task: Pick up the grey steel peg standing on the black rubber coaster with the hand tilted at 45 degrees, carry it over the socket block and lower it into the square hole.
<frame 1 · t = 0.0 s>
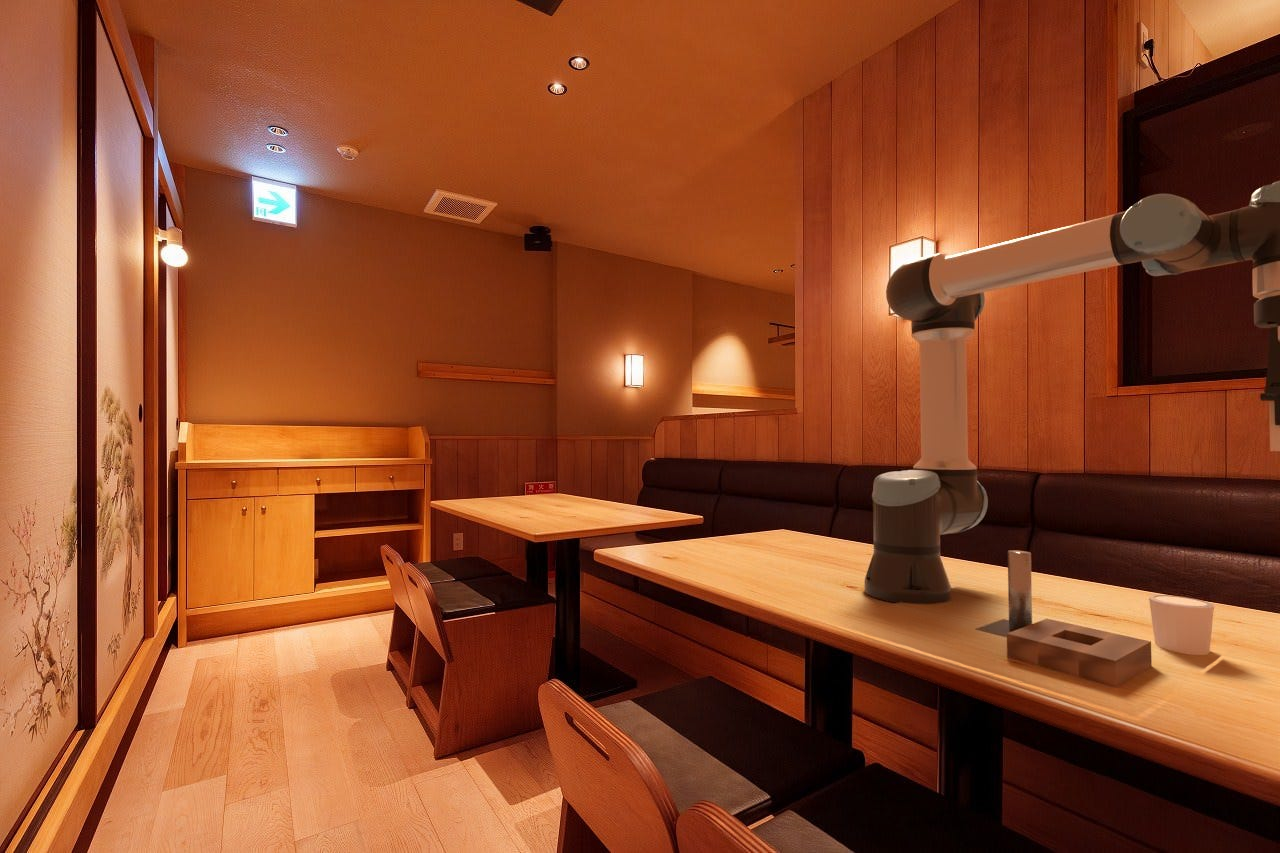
peg: (1020, 631, 91), resting on coaster
white cup: (1181, 651, 84), on the table
socket block: (1077, 664, 79), on the table
coaster: (1020, 634, 91), on the table
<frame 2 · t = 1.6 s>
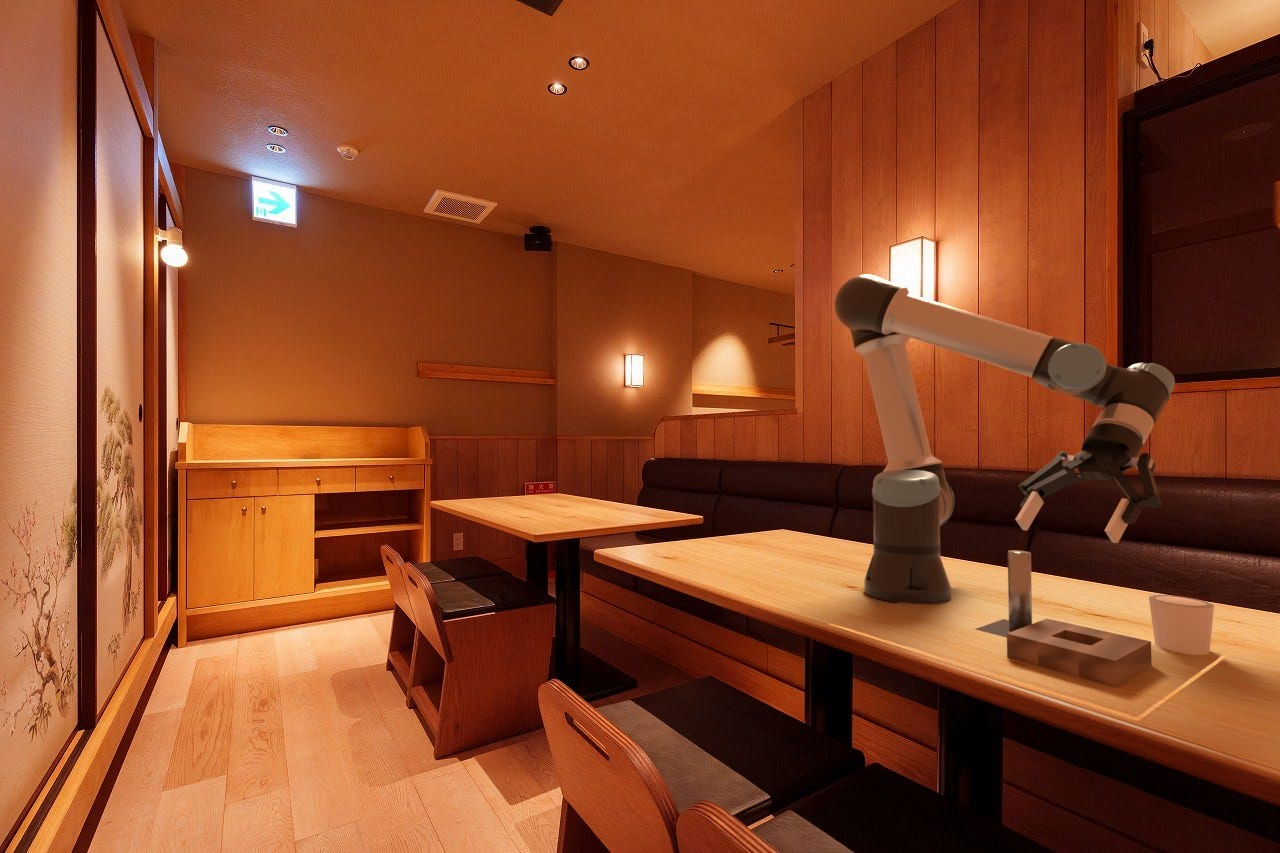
hand: (1063, 530, 95), 15 cm above the table, tool tilted 45°, fingers open, 13 cm apart
nothing on the table moved.
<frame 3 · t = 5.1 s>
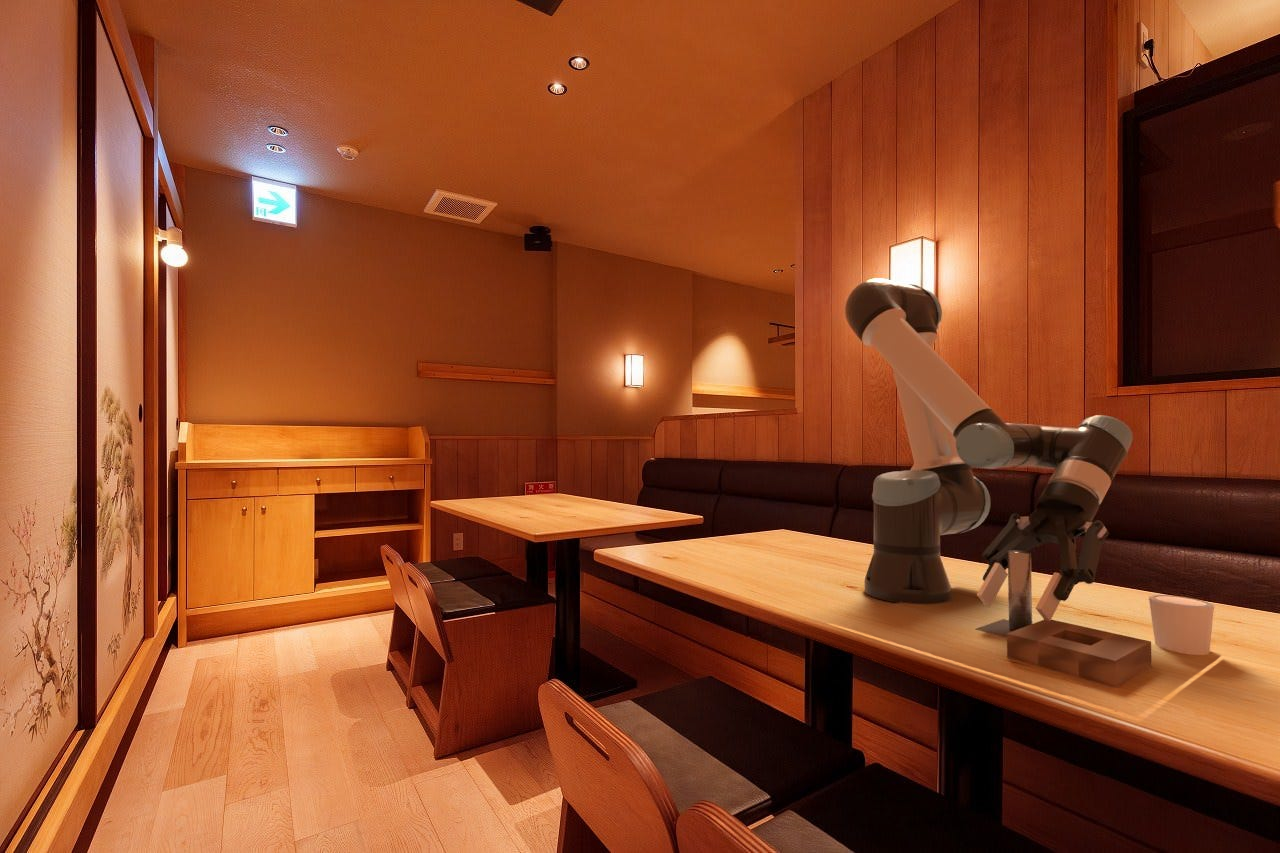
hand: (1011, 607, 89), 5 cm above the table, tool tilted 45°, fingers open, 8 cm apart
nothing on the table moved.
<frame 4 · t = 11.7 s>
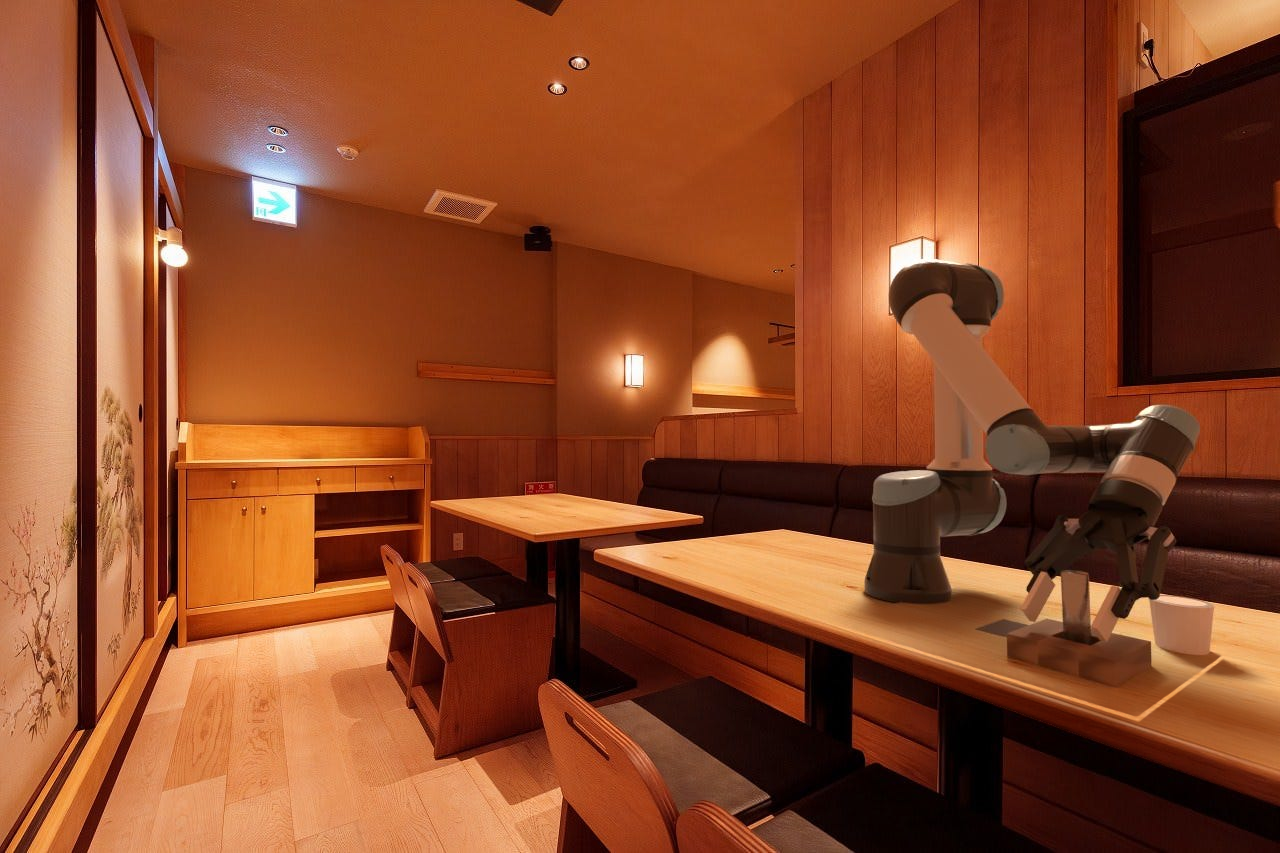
hand: (1061, 624, 77), 6 cm above the table, tool tilted 45°, fingers open, 8 cm apart
peg: (1078, 663, 79), resting in socket block
everything else where it was.
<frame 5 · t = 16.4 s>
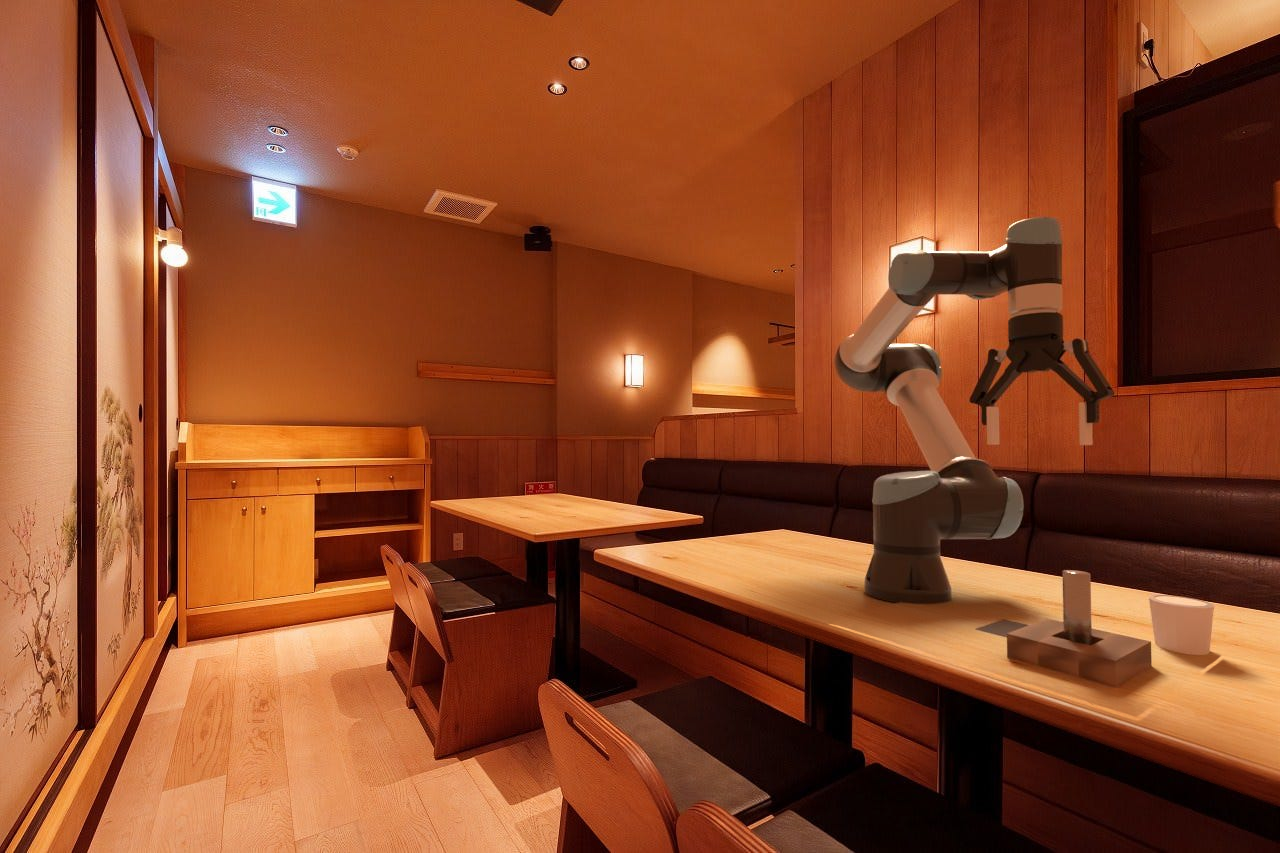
hand: (1037, 445, 97), 29 cm above the table, tool pointing down, fingers open, 13 cm apart
nothing on the table moved.
at the end: peg 0.1 cm off-centre on the socket block, point 0.0 cm above the socket block's base; peg tilted 0°; the gripper is holding nothing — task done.
